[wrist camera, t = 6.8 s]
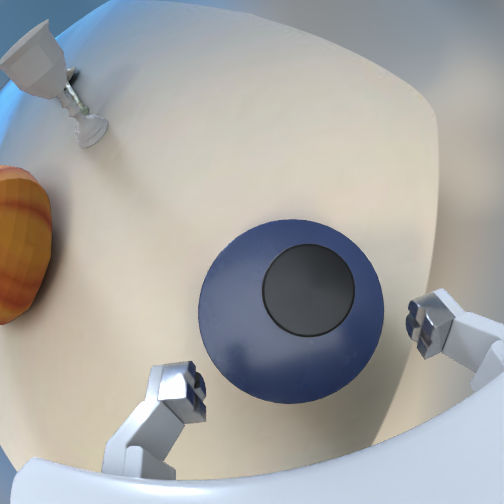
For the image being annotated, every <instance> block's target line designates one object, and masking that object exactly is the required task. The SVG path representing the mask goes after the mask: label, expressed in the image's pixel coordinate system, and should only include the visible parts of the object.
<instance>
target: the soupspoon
mask: <svg viewBox="0 0 504 504" xmlns="http://www.w3.org/2000/svg"><path fill="white" fill-rule="evenodd" d="M75 70H76V67H72V68H69V69H66V75H67V85H66V89H67V90H68V92H69V93H70V94H71V96H72V97H73V99H74V100H75V102H76V103H77V104H76V106H80V112H81V114H82V115H84V116H86V115H87V114H88V113H89V109H88V108H86V107H84V105H83V104H82V102H80V100H79V98H78V97H77V95H76V93H75V92H74V90H73V89H72V87H71V86H70V84H69V80H70V79H71V77H72V75H73V74H74V72H75Z"/></svg>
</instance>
